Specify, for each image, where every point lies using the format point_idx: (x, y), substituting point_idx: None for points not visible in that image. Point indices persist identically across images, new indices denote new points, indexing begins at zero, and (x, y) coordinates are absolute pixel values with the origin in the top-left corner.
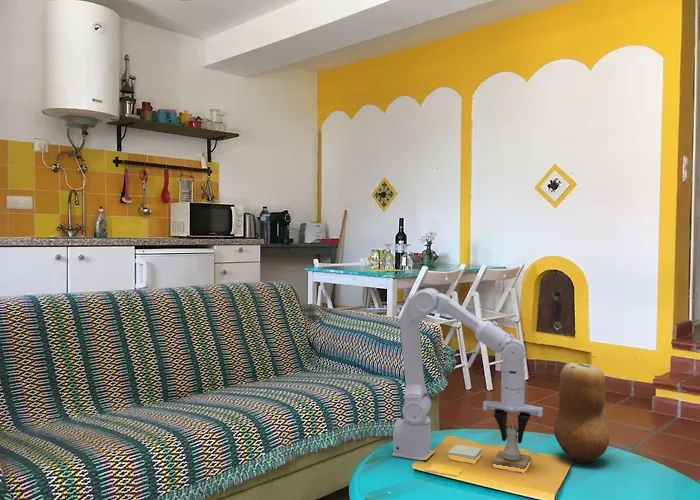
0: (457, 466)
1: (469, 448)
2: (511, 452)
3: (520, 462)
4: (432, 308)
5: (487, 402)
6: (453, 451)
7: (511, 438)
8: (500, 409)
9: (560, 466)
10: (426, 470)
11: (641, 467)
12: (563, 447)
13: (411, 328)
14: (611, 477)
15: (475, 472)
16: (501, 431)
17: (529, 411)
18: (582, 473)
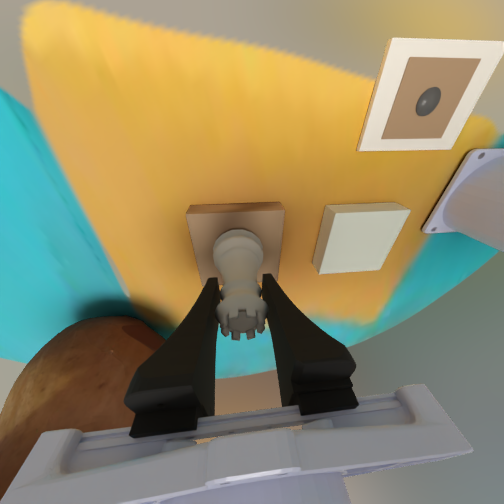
0: (374, 163)
1: (348, 261)
2: (233, 243)
3: (206, 230)
4: None
5: (444, 456)
6: (394, 221)
7: (237, 279)
8: (324, 413)
9: (144, 287)
10: (502, 43)
11: (27, 344)
12: (144, 337)
13: None
14: (17, 281)
15: (322, 136)
16: (281, 294)
17: (132, 454)
18: (81, 273)
